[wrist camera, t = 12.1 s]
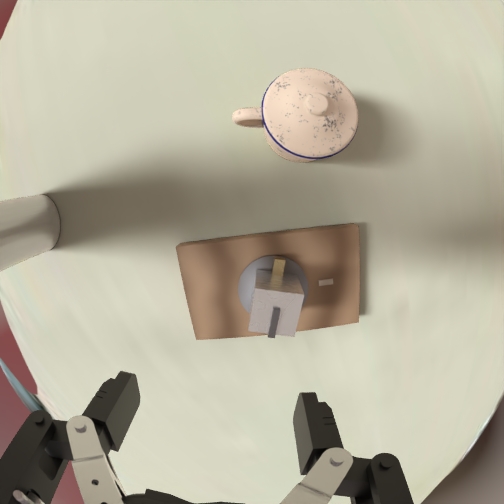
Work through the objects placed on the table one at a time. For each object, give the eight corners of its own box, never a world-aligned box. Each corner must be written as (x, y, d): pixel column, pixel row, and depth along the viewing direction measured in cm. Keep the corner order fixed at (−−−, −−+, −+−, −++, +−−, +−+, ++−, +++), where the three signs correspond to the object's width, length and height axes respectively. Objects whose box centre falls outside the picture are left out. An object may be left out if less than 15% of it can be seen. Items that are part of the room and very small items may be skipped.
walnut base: (199, 332, 38) (195, 342, 35) (180, 243, 34) (173, 248, 32) (354, 315, 36) (360, 325, 34) (353, 223, 33) (360, 226, 30)
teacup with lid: (334, 97, 29) (366, 62, 18) (335, 166, 31) (371, 160, 20) (237, 93, 30) (226, 53, 18) (236, 163, 32) (223, 154, 21)
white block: (258, 254, 31) (257, 271, 25) (300, 260, 31) (308, 278, 25) (248, 319, 34) (245, 347, 28) (286, 324, 34) (291, 352, 28)
